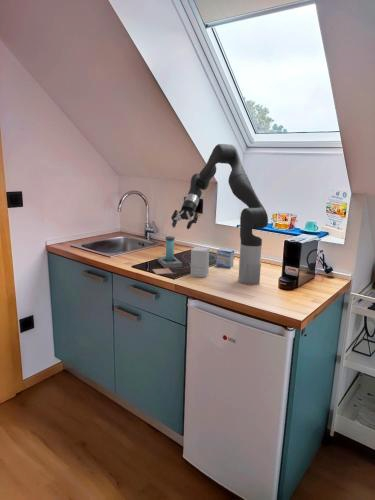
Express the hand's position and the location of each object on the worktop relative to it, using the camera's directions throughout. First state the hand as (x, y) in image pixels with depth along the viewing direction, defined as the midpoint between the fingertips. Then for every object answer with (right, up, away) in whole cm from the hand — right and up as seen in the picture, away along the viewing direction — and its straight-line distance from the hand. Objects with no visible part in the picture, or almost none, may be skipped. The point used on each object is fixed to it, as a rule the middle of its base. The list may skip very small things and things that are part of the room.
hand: (180, 227), depth 200 cm
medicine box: (+23, -21, -5) cm, 31 cm away
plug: (-5, -19, -6) cm, 21 cm away
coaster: (-8, -23, -19) cm, 31 cm away
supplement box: (+9, -24, -21) cm, 33 cm away
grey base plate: (-6, -20, -6) cm, 21 cm away
